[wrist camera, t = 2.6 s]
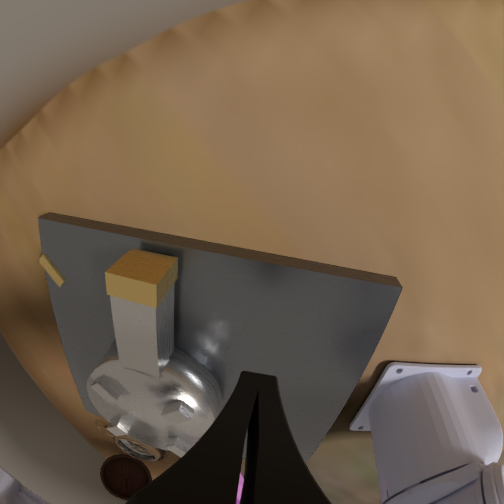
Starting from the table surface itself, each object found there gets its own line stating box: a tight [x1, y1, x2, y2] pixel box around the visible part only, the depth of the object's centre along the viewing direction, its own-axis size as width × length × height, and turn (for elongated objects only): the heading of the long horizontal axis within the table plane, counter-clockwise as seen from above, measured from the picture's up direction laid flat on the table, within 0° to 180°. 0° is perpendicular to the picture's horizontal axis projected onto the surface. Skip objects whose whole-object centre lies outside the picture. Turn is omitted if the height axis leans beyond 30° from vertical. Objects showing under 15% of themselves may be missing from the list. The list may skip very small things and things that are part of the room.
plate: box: [38, 212, 403, 464], centre depth 19 cm, size 22×20×1 cm
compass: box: [97, 426, 165, 500], centre depth 23 cm, size 8×8×7 cm
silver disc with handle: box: [87, 248, 222, 457], centre depth 16 cm, size 15×9×4 cm, turn 171°
